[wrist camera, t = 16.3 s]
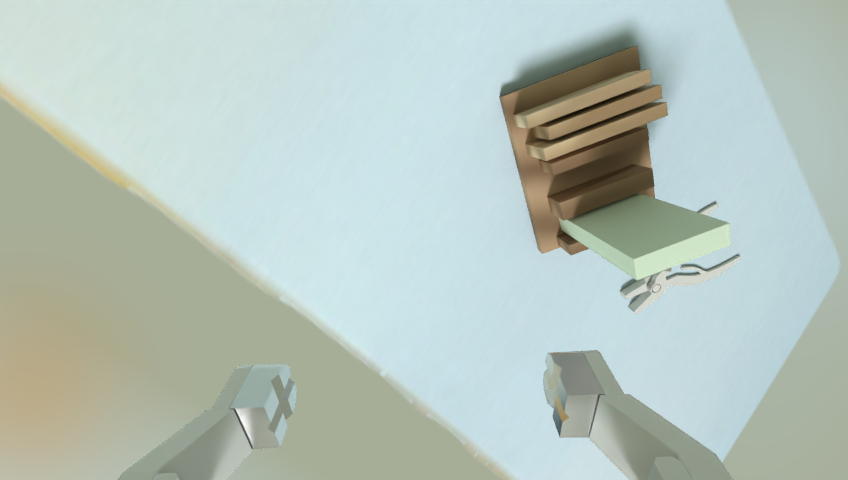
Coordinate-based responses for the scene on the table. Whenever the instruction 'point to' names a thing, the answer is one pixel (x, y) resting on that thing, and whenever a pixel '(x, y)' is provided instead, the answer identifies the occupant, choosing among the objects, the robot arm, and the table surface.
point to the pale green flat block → (647, 234)
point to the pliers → (671, 279)
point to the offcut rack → (582, 141)
